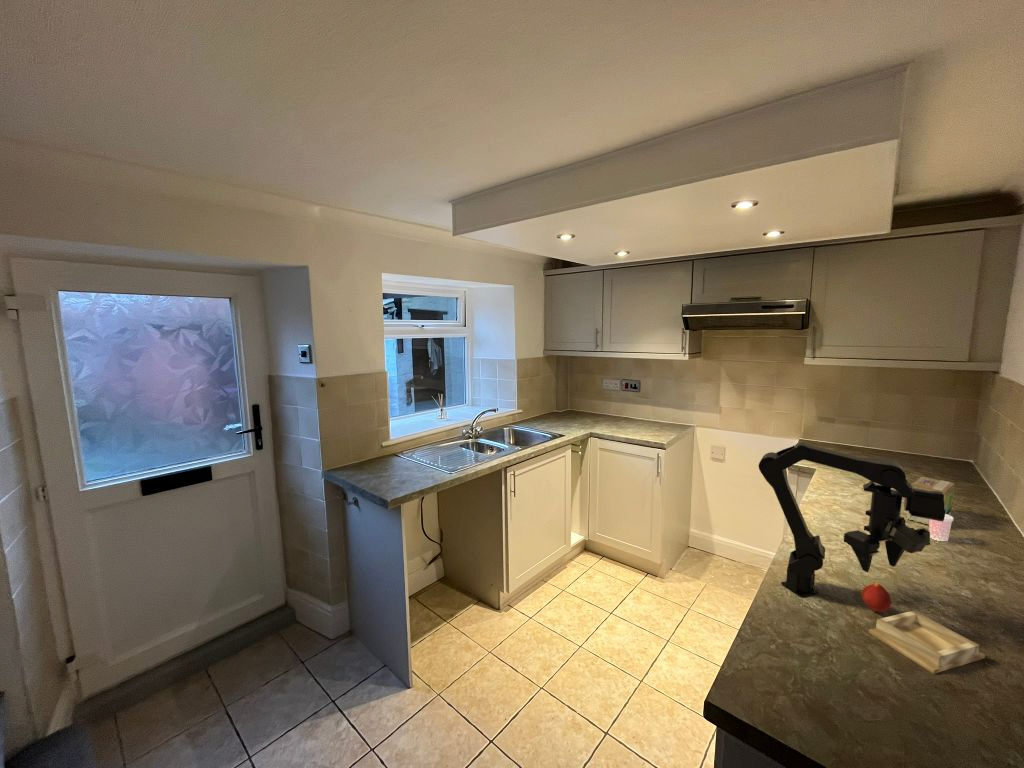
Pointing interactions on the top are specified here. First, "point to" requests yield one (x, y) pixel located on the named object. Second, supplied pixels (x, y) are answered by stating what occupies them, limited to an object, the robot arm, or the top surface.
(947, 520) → the beverage cup
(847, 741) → the top surface
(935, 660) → the tray
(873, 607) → the onion
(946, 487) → the tea box
